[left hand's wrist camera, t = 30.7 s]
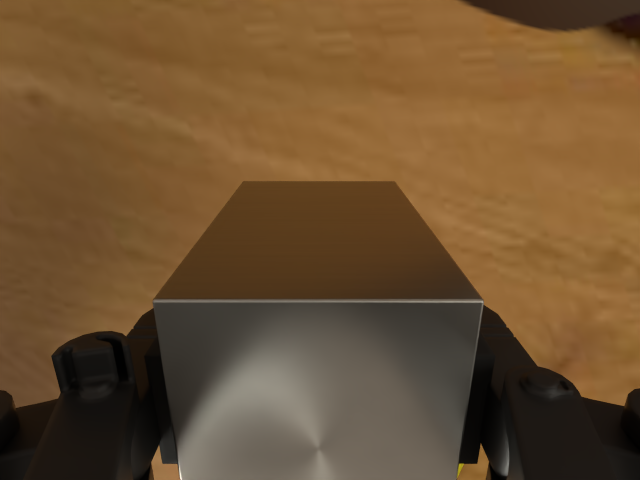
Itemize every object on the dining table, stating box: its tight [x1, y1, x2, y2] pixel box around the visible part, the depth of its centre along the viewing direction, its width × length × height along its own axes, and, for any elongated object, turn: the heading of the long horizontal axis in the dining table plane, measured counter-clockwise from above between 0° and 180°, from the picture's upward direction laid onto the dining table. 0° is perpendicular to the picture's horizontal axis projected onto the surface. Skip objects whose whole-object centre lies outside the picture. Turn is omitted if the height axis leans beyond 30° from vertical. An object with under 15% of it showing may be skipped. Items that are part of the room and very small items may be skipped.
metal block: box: [153, 181, 484, 480], centre depth 12 cm, size 5×6×8 cm
